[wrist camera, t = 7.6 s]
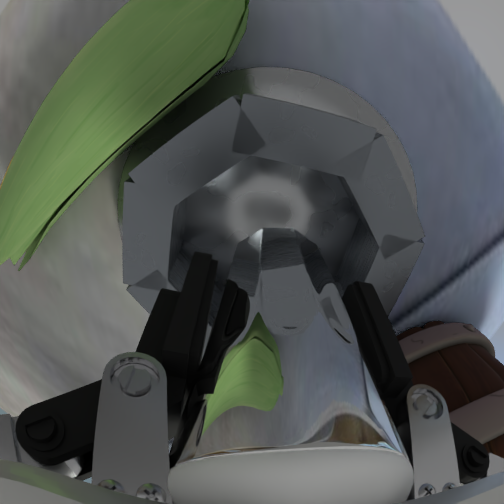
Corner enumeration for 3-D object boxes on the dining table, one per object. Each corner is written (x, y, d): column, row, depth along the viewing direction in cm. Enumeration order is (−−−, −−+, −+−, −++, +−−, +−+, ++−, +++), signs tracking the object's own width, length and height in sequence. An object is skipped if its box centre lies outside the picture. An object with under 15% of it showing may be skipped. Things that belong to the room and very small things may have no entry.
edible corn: (302, 32, 8) (212, -71, 5) (10, 306, 15) (-46, 266, 12) (271, 25, 12) (210, -43, 9) (35, 247, 18) (-12, 211, 15)
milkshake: (170, 264, 11) (69, 555, 3) (295, 179, 10) (390, 600, 1) (244, 339, 13) (229, 585, 4) (359, 278, 11) (444, 557, 3)
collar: (351, 347, 20) (363, 392, 17) (124, 309, 19) (103, 352, 15) (446, 124, 13) (491, 140, 9) (140, 48, 11) (103, 40, 8)
